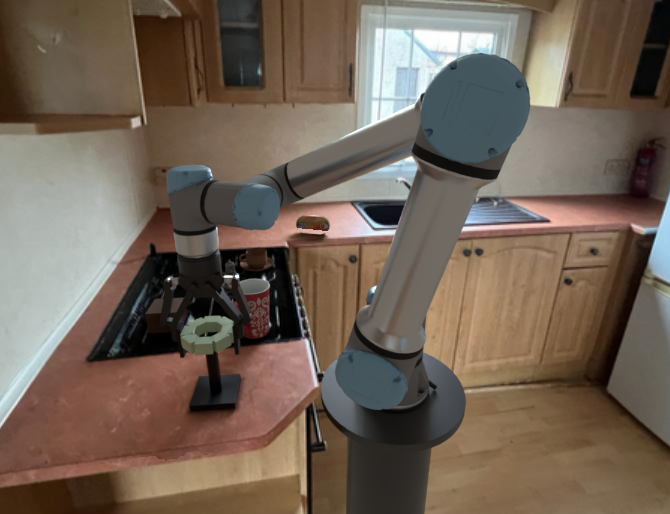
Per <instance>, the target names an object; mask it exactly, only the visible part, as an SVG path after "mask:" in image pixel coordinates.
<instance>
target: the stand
mask: <svg viewBox="0 0 670 514" xmlns="http://www.w3.org/2000/svg"><path fill="white" fill-rule="evenodd" d="M205 361H206V369H207V375H198V378H197V381H196V383H195V387H194V390H193V393H192V396H191V399H190V402H189V405H188V409H189V412H190V413H191V412H193V413H194V412H206V411H222V410H235V409H237V403H238V397H239V393H240V392H239V391H240V387H241V381H242V376H241V373H230V374H221V369H220V368H221V367H220V362H219V361H220V359H219V352H218V353H217V352H215V351H214V353H213V354H205Z"/></svg>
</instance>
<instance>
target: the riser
mask: <svg viewBox="0 0 670 514" xmlns="http://www.w3.org/2000/svg"><path fill="white" fill-rule="evenodd" d="M183 299H184V297H173V301H172V307H171V312H170V317H171V318H174V316H175V314H176V312H177V310H178V308H179V306H180V304H181V302H182V301H183ZM163 300H164V298H154V300H153V301H152V303H151V304H150V306H149V307H148V309H147V311H146V312H145V314H144V315H145V320H146V326H147V330H148V334H165V333H171V329H170V328H169V327H167V326H164V327H161V326H160V325H159V323H160V317H161V311H162V306H163ZM187 318H188V311H187V308H186V309H185V311H184V313H183V315H182V317H181V319H180V321H179V323H180V322H184V323H185V321H186V320H187Z"/></svg>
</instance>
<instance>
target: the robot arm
mask: <svg viewBox="0 0 670 514" xmlns="http://www.w3.org/2000/svg"><path fill="white" fill-rule="evenodd" d="M530 111H531V93H530V88H529V86H528V83H527V80H526V77H525V76H524V74H523V72H521V70H520V69H519V67H517V65H515V64H514V63H512V62H511V61H510V60H509V59H507V58H505V57H502V56H499V55H497V54H489V53H488V54H487V53H484V52H477V53H470V54H465V55H462V56H460V57H457V58H456V59H454V60H452V61H450V62H449V63H447V64H446V65H444V67H442V68H441V69H440V70H439V71H438V72H437V73H436V75H434V76H433V78H432V80H430V82H429V83H428V85H427V87H426V89H425V91H424V92H422V93H420V94H419V95H418V97H417V98H416V101H415V103H414V104H412V105H409V106H407V107H405V108H403V109H401V110H398V111H397V112H395V113H392V114H390V115H388V116H386V117H383V118H381V119H379V120H377V121H375V122H372V123H370V124H368V125H366V126H364V127H362V128H360V129H359V128H358V129H357V130H355V131H353V132H350V133H348V134H346V135H344V136H342V137H339V138H338V139H335V140H333V141H331V142H328V143H327V144H325V145H322V146H320V147H317V148H316V149H313V150H311V151H309V152H306V153H305V154H303V155H300V156H298V157H296V158H294V159H291V160H290V161H287V162H285V163H283V164H280V165H278V166H276V167H274V168H271V169H269V170H266V171H264V172H262V173H259V174H257V175H254V176H251V177H248V178H246V179H242V180H240V181H224V180H216V179H214V176H213V173H212V170H211V168H210V167H209V166H207V165H202V164H185V165H178V166H174V167H171V168H169V169H168V170H167V172H166V175H165V176H166V195H167V198H168V204H169V210H170V215H171V222H172V229H173V237H174V245H175V251H176V253H177V255H176V257H177V258H176V259H177V266H178V272H179V277H178V276H176V277H173V276H172V275H168V276H166V278H165V279H164V281H163V282H162V287H163V292H164V296H163V299H164V300H163V306H162V311H161V317H160V323H159V325H160V326H161V327H164V326H167V327H169V328H170V329H171V332H170V333H171V339H172V342H173V343H177V346H178V352H179V357H180V359H184V358H185V357H186V354H187V353H188V351H187V350H185V349H184V348H182V344H181V337H180V334H181V332H182V330H183V328H184V326H185V322H180V323H179V321H180V319H181V317H182V315H183V313H184V311H185V309H186V310H187V307H188V306H189V303H190V301H191V299H192V298H194V299H201V298H203V299H204V298H206V299H211V298H212V299H213V300H214V301H215V302H216V303H218V304H219V305H220V307H221V308H222V310H223V311H224V312H225V313H226V314H227V315H228V317H229V319H230V320H233V326H232V330H233V338H234V343H233V349H234V356H239V355H240V351H241V339H244V338H245V337H244V323H246V322H247V323H249V322H251V318H252V312H251V309H250V307H249V305H248V302H247V300H246V297H245V295H244V293H243V290H242V288H241V286H240V282H241V280H240V279H241V276H240V274H239V273H235V274H234V275H233V276H227V275H225V272H223V268H222V260H221V258H222V257H221V251H220V249H219V247H220V241H219V240H220V239H219V232H218V225H219V226H225V227H231V228H238V229H243V230H246V231H267V230H269V229H271V228H273V227H274V225H275V224H276V223H275V222H276V221H277V220H278V218H279V215H280V210H281V209H284V208H285V207H287V206H290V205H293V204H294V203H297V202H299V201H300V202H301V201H302V200H304V199H307V198H309V197H312V196H314V195H316V194H319V193H322V192H324V191H327V190H330V189H332V188H334V187H337V186H340V185H343V184H345V183H347V182H350V181H352V180H355V179H357V178H360V177H362V176H365V175H368V174H370V173H373V172H375V171H377V170H380V169H383V168H385V167H388V166H391V165H393V164H395V163H398V162H400V161H403V160H406V159H408V158H411V157H412V160H413V161H414V163H415V165H416V171H415V174H414V177H413V180H412V183H411V186H410V188H409V192H408V194H407V197H406V200H405V203H404V206H403V208H402V211H401V215H400V217H399V221H398V224H397V226H396V229H395V231H394V236H393V238H392V241H391V243H390V247H389V249H388V252H387V255H386V258H385V261H384V264H383V267H382V269H381V272H380V275H379V278H378V281H377V284H376V285H373V286H372V287H370V288H369V290H368V291H367V295H366V298H365V302H366V305H364V306H363V307H361V308H360V309H359V310H358V312H357V313H356V316H355V319H354V321H353V324H352V328H351V331H350V334H349V337H348V340H347V342H346V345H345V347H344V349H343V352H341V353H340V354H339V355H338V357H337V358H338V360H337V364H336V367H335V377H336V380H337V383H338V385H339V387H341V388H342V389H343V392H344V393H345V394H346V395H347V396H348V397H349V398H350V399H351V400H353V401H354V402H356V403H357V404H359V405H361V406H363V407H366V408H369V409H374V410H379V411H382V412H386V413H396V414H398V413H407V412H411V411H414V410H416V409H418V408H419V407H421V406H422V405H423V404H424V403H425V402H426V400H427V398H428V394H429V386H430V387H431V388H433V389H434V390H435V389H436V388H437V385H435V384H434V383H432V382H431V381H430V380H428V377H427V373H426V370H425V366H424V363H423V352H424V349H425V344H426V341H427V333H426V326H427V325H426V323H427V313H428V311H429V309H430V306H431V304H432V302H433V300H434V297H435V295H436V292H437V290H438V288H439V286H440V283H441V281H442V278H443V276H444V273H445V272H446V269H447V267H448V264H449V262H450V259H451V258H452V255H453V253H454V250H455V248H456V246H457V242H458V241H459V239H460V236H461V233H462V231H463V228H464V227H465V224H466V221H467V219H468V217H469V214H470V212H471V210H472V207H473V205H474V203H475V200H476V198H477V196H478V194H479V192H480V189H481V188H483V187H485V186H488V185H490V184H492V183H494V182H496V181H497V179H498V178H499V175H500V173H501V170H502V169H503V166H504V163H506V162H505V161H506V160H507V157H508V155H509V152H510V150H511V148H512V145H513V144H514V143H515V142H516V141H517V139H518V137H520V136H521V134H522V132H523V131H524V129H525V126H526V124H527V123H528V119H529V115H530ZM224 282H226V283H227V284H228V286H229V287H230V288H231V287H232V292H233V295H234V297H235V298H234V300H235V301H236V302H237V304H238V306H239V308H240V311H241V313H242V314H241V313H240V311H239V310H238V309H237V307H236V306H235V305H234V304H233V303H234V301H232V300H231V298H229V297H228V296H227V295H226V294H225V293H226V291H225V290H224V289H223V287H222V285H223V283H224ZM178 285H179V286H180V287H181V288H182V289H183V290H184V292H185V294H184V297H183V298H184V299H183V301H182V302H181V304H180V306H179V308H178V310H177V312H176V314H175V316H174V318H171V317H170V312H171V307H172V301H173V298H174V296H175V290H176V289H177V287H178Z"/></svg>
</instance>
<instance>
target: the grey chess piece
mask: <svg viewBox="0 0 670 514" xmlns="http://www.w3.org/2000/svg"><path fill="white" fill-rule="evenodd" d="M224 268H225V269H224V270H225V272H224V275H227V276H233V275H234V274H235V273H237V270H236V265H235V263H234V261H231V259H228V261H227V262H225V263H224ZM237 274H238V273H237ZM221 287H222V288H223V289H224V291H225V294H226V295H227V296H228V297H229V299H235V297H234V295H233V292H232V287H231V288H230V287H229V286H228V284H227V283H226V282H224V283H223V285H222V286H221Z"/></svg>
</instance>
